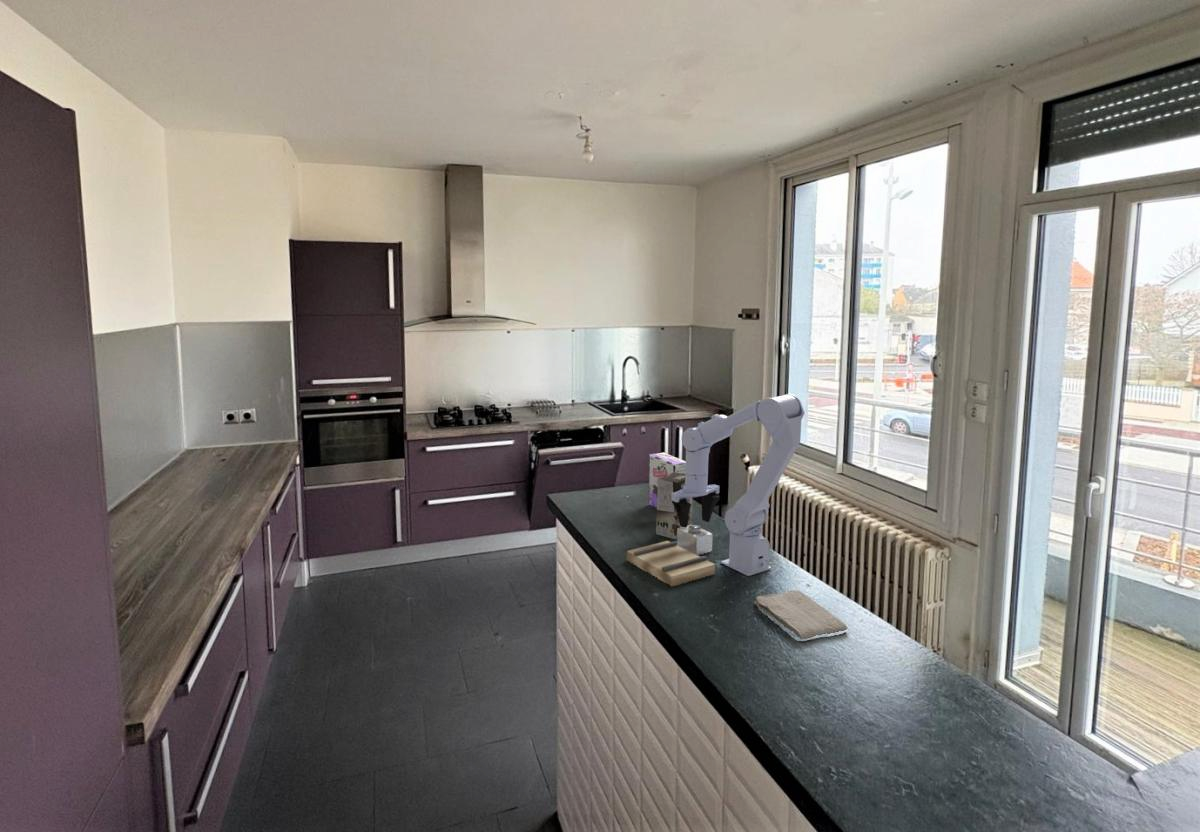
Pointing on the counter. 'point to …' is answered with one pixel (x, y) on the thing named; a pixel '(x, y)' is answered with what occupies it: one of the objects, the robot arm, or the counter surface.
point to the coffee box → (669, 505)
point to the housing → (694, 539)
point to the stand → (671, 563)
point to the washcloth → (800, 614)
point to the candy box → (662, 472)
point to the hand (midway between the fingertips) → (694, 523)
